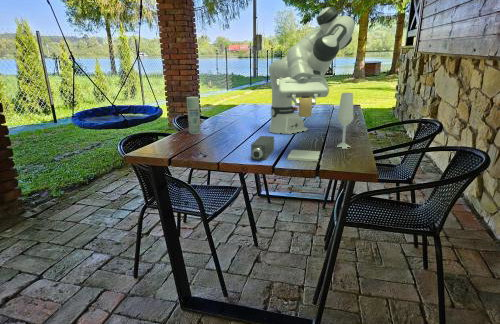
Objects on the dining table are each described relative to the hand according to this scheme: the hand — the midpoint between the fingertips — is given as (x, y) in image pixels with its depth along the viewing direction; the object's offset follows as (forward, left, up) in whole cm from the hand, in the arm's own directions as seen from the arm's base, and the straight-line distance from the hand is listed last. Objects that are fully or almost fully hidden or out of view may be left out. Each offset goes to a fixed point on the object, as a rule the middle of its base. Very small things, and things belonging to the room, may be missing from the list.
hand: (305, 104), depth 120 cm
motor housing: (+12, -12, -21) cm, 27 cm away
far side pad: (-1, 0, -21) cm, 21 cm away
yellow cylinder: (0, 0, -5) cm, 5 cm away
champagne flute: (-26, -5, -22) cm, 34 cm away
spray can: (+26, -68, -22) cm, 76 cm away
